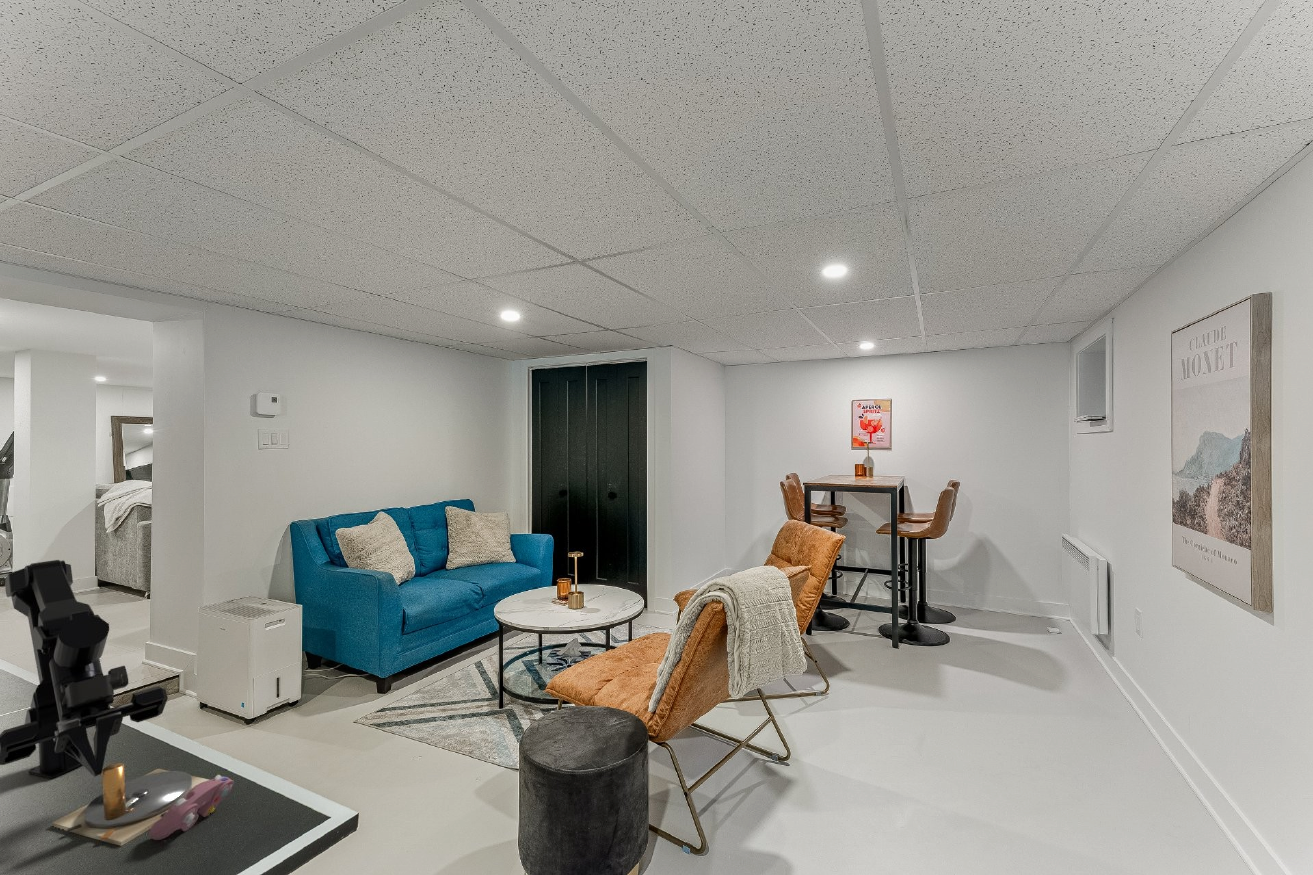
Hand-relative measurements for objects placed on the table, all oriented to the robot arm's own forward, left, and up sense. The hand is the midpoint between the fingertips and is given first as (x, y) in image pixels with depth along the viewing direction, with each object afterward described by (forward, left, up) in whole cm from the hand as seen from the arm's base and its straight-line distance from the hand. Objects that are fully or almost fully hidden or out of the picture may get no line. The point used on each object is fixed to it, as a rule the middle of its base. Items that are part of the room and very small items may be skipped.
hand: (98, 774), depth 90 cm
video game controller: (+13, +5, -8) cm, 16 cm away
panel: (0, +5, -8) cm, 10 cm away
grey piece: (0, +5, -8) cm, 9 cm away
